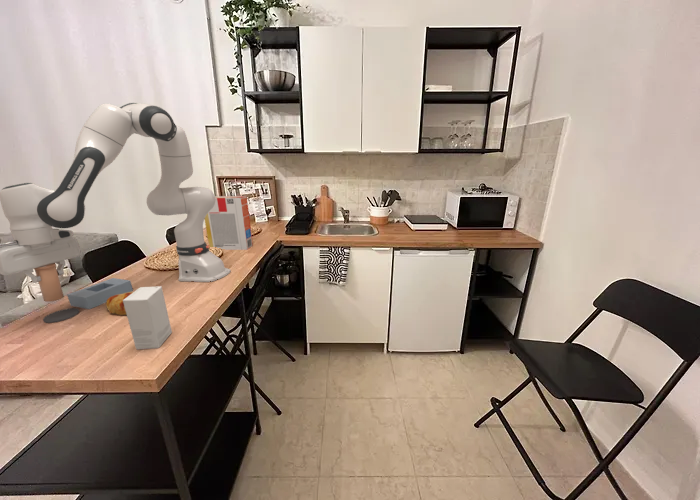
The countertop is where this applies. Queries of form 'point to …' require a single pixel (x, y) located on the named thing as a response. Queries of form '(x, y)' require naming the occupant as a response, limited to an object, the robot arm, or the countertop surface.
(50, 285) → the orange-brown cylinder
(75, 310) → the mat
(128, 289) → the pocket block
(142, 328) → the skincare box
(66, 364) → the countertop surface
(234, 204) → the pasta box
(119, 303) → the croissant
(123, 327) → the countertop surface
